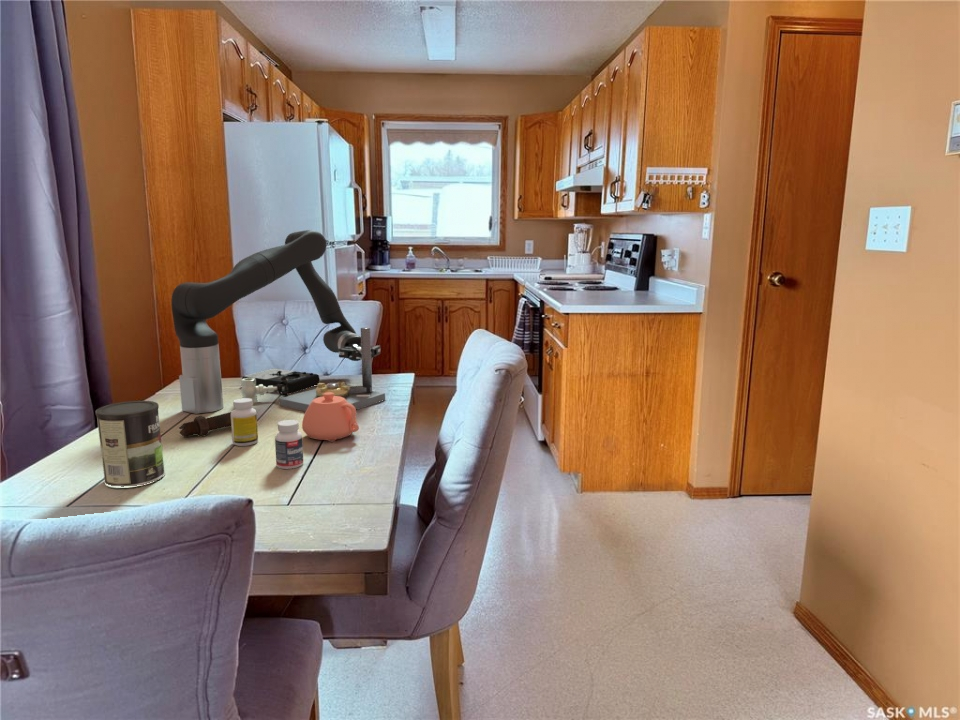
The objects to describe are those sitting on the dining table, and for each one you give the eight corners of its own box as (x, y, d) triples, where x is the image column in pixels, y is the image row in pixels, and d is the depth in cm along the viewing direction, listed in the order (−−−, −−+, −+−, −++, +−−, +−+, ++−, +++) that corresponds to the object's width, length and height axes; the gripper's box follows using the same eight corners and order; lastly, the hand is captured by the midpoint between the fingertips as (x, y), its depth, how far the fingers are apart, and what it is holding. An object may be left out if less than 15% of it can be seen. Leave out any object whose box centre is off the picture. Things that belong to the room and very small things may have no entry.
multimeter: (290, 395, 184) (289, 378, 183) (241, 388, 193) (240, 372, 192) (320, 385, 196) (319, 370, 195) (273, 379, 204) (272, 364, 203)
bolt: (181, 446, 145) (244, 429, 155) (188, 440, 141) (252, 423, 152) (174, 422, 146) (237, 407, 156) (180, 415, 142) (244, 401, 153)
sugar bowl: (326, 425, 155) (324, 384, 153) (374, 433, 149) (372, 391, 147) (291, 439, 144) (288, 396, 142) (340, 449, 138) (339, 403, 136)
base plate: (333, 417, 161) (333, 408, 161) (279, 405, 172) (279, 397, 171) (385, 400, 178) (384, 392, 177) (333, 390, 188) (333, 383, 188)
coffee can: (169, 466, 127) (162, 398, 124) (159, 486, 117) (152, 412, 115) (111, 471, 124) (103, 402, 121) (97, 492, 114) (87, 416, 112)
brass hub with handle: (318, 400, 169) (315, 333, 165) (314, 392, 177) (311, 328, 173) (375, 395, 174) (373, 330, 171) (368, 387, 182) (366, 325, 179)
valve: (243, 406, 171) (288, 401, 177) (241, 382, 170) (287, 378, 175) (240, 400, 177) (285, 396, 182) (239, 377, 176) (283, 373, 181)
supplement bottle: (262, 443, 141) (259, 400, 139) (238, 448, 138) (234, 404, 136) (252, 437, 145) (249, 395, 143) (228, 442, 142) (225, 399, 140)
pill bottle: (288, 471, 125) (286, 428, 123) (270, 466, 127) (268, 423, 126) (309, 463, 129) (307, 421, 127) (291, 458, 132) (289, 417, 130)
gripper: (330, 335, 189) (343, 345, 174) (373, 332, 195) (390, 341, 179) (331, 360, 191) (345, 372, 175) (374, 356, 196) (391, 367, 181)
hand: (368, 356), depth 177 cm, fingers closed
